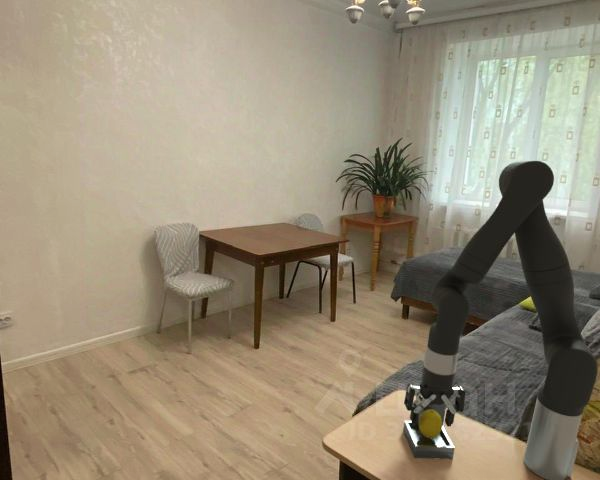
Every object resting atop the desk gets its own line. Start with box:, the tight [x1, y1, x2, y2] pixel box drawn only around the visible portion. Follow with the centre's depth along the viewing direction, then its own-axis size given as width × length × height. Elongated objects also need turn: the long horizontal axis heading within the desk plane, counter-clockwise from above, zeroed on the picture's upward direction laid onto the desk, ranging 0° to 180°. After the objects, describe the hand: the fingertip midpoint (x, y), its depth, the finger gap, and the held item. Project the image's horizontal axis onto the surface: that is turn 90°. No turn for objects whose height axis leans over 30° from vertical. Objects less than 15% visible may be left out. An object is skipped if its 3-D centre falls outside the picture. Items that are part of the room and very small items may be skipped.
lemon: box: [419, 409, 442, 438], centre depth 106 cm, size 6×6×8 cm
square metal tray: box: [402, 420, 456, 460], centre depth 107 cm, size 10×10×3 cm
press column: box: [415, 392, 447, 431], centre depth 115 cm, size 7×7×9 cm
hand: (430, 424), depth 106 cm, fingers open, 8 cm apart
